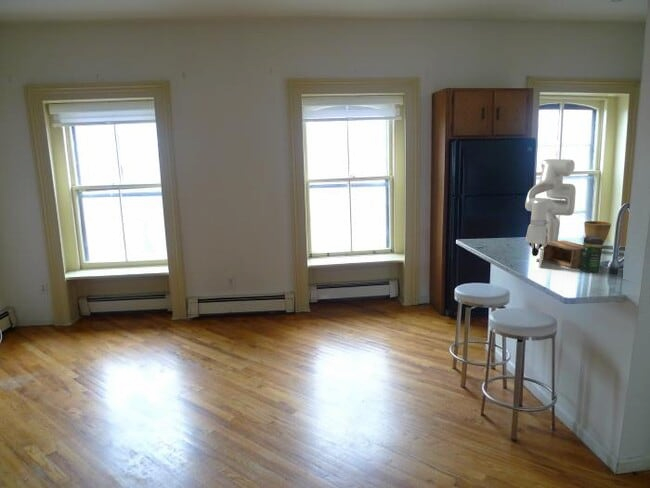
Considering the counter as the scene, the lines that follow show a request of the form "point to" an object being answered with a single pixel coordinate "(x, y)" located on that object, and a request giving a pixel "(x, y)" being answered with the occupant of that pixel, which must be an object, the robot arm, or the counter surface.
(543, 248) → the door
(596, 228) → the plant pot
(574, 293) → the counter surface
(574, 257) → the cabinet
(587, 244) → the coffee jar
